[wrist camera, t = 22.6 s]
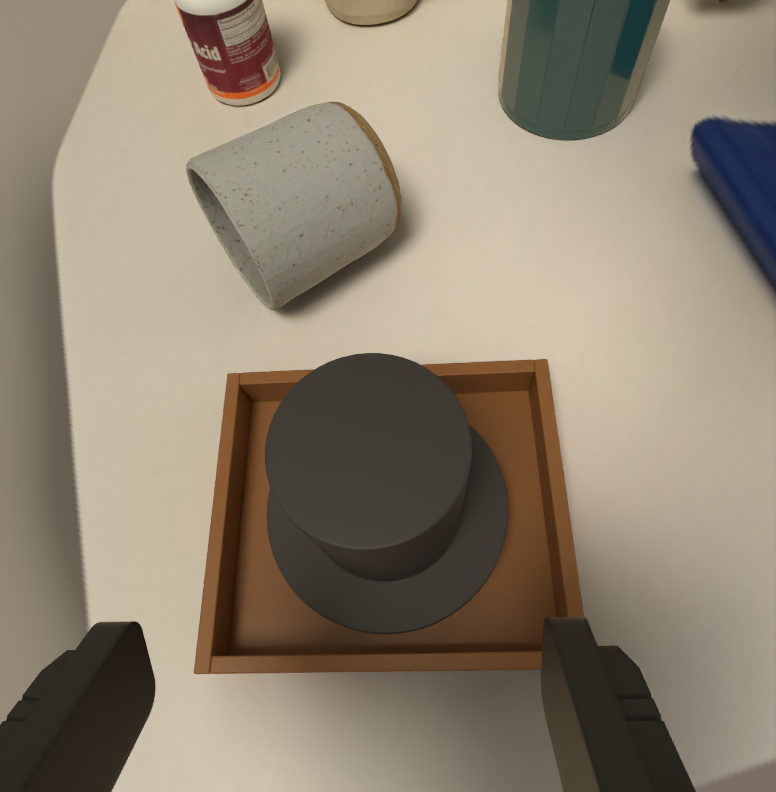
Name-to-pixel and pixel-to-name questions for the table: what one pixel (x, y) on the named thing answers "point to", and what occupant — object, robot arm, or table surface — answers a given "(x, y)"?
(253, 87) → the pill bottle
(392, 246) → the table surface
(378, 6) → the vase
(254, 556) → the tray
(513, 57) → the cup
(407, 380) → the flanged dark cylinder
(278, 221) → the ceramic mug
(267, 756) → the table surface
